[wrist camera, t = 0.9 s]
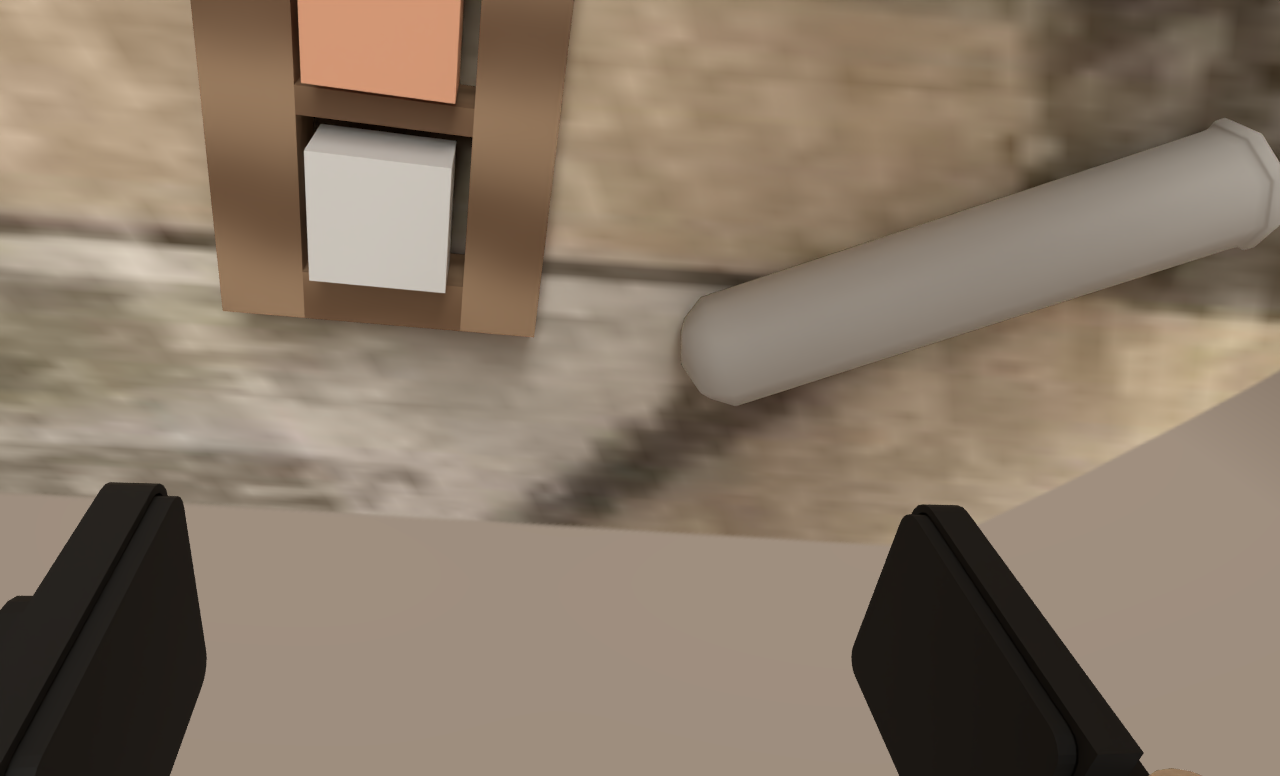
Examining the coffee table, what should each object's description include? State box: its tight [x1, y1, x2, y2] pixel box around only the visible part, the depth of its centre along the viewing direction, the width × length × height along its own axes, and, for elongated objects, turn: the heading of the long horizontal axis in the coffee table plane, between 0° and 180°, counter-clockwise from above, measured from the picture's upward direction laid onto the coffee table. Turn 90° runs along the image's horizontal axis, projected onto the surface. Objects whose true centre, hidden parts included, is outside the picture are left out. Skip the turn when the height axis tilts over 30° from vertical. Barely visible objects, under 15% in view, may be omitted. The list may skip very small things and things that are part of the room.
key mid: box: [298, 0, 464, 104], centre depth 28 cm, size 5×5×3 cm
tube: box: [681, 118, 1280, 406], centre depth 37 cm, size 5×5×25 cm
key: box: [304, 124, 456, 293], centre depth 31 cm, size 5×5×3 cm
